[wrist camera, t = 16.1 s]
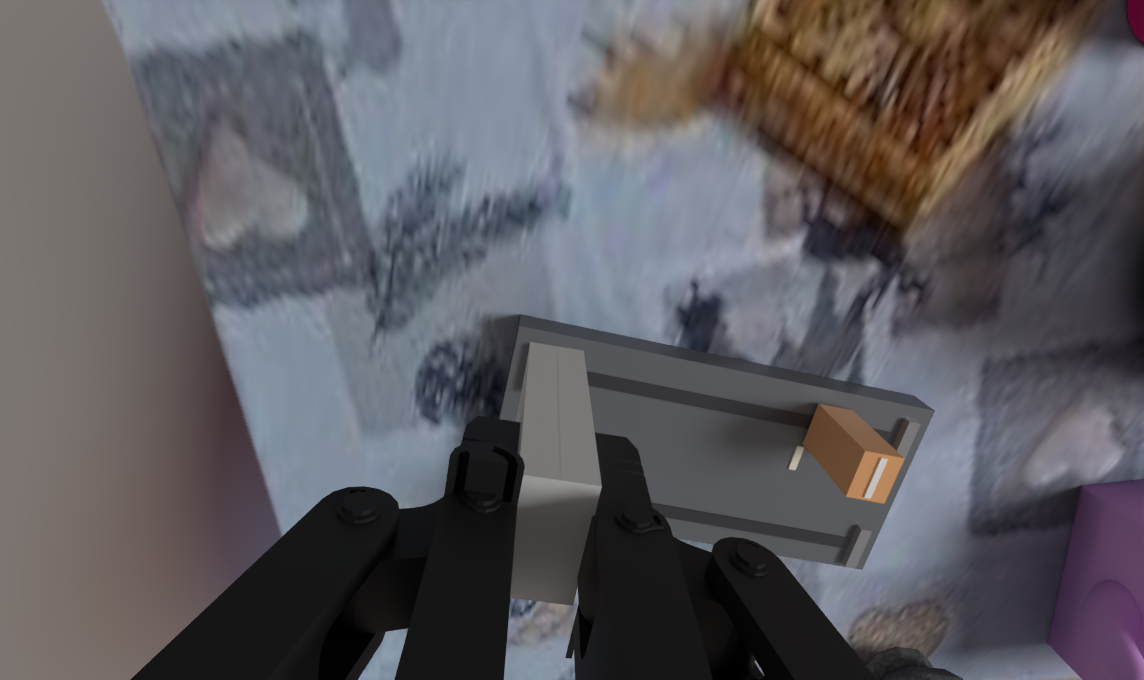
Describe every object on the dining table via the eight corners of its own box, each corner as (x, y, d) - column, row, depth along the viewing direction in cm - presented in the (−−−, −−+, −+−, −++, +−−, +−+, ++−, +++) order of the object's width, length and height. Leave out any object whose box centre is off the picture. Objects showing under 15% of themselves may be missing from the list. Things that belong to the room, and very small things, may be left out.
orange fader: (818, 403, 40) (866, 451, 34) (852, 410, 41) (905, 459, 35) (802, 443, 41) (846, 497, 35) (836, 450, 42) (885, 504, 36)
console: (520, 314, 40) (519, 328, 37) (914, 395, 44) (940, 414, 41) (484, 485, 44) (480, 510, 41) (846, 548, 48) (866, 575, 45)
